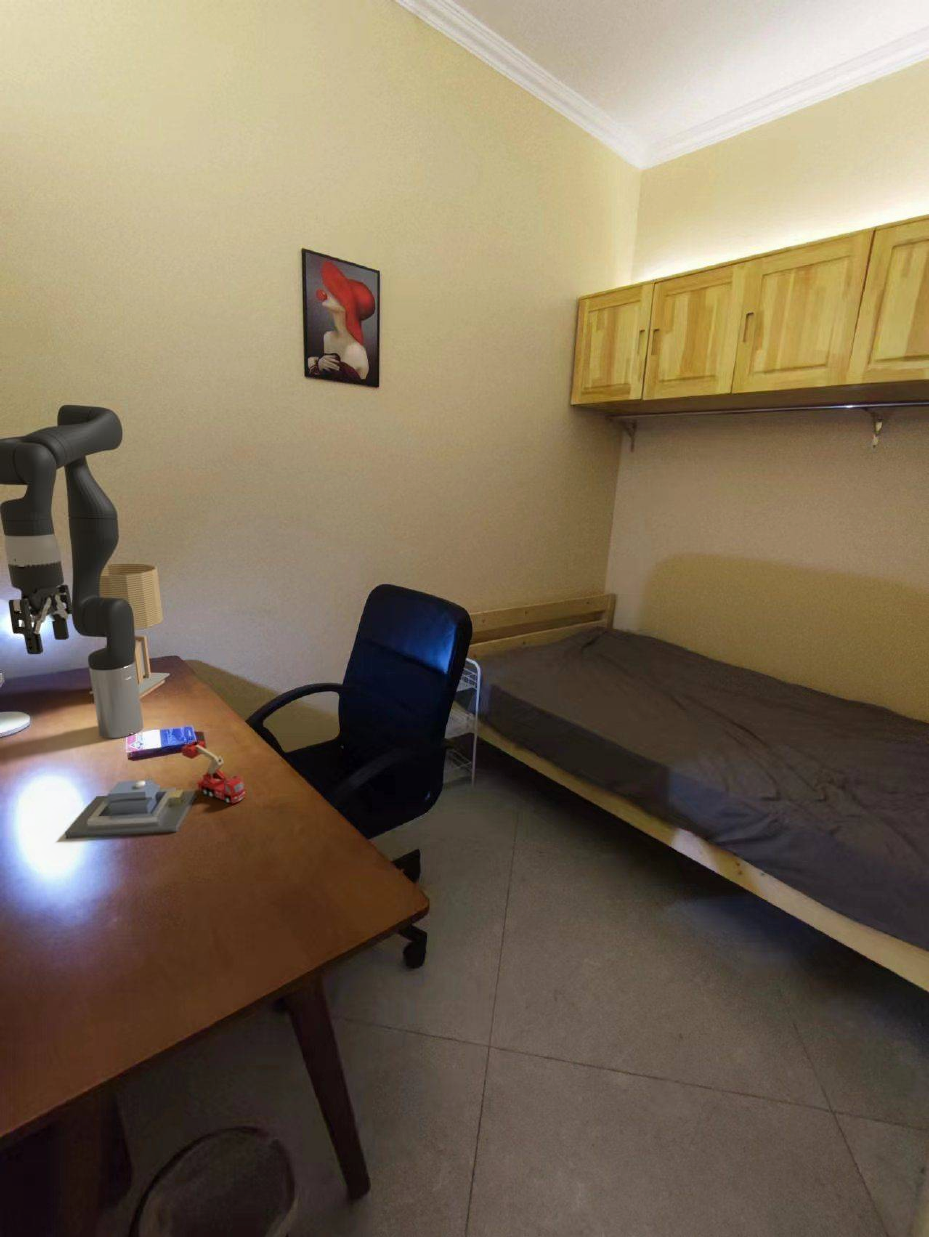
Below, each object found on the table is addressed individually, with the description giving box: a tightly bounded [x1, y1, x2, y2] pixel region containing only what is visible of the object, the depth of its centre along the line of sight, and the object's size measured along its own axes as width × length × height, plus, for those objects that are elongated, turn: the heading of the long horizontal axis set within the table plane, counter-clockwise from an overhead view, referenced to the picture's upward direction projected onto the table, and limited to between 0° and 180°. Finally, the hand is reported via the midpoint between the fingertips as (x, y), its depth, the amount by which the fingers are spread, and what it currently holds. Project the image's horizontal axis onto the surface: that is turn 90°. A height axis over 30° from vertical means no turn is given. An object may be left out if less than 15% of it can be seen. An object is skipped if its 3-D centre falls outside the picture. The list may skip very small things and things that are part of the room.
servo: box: [103, 779, 161, 816], centre depth 100 cm, size 4×8×6 cm, turn 100°
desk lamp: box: [89, 563, 170, 699], centre depth 152 cm, size 20×20×35 cm
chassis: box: [64, 787, 197, 840], centre depth 100 cm, size 11×18×3 cm, turn 99°
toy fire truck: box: [181, 740, 246, 804], centre depth 108 cm, size 3×14×10 cm, turn 65°
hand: (49, 646), depth 101 cm, fingers open, 8 cm apart
